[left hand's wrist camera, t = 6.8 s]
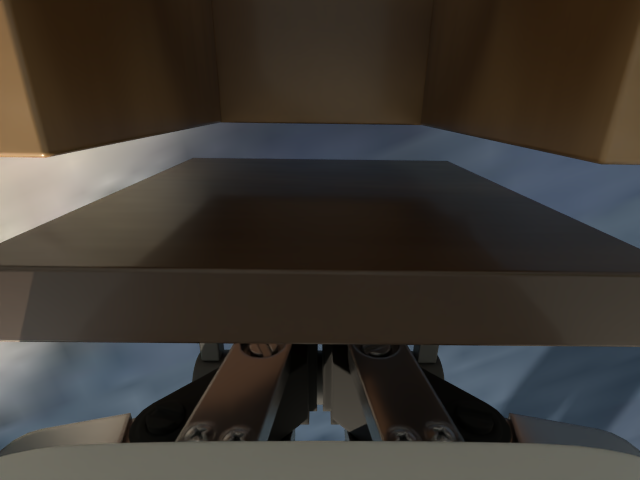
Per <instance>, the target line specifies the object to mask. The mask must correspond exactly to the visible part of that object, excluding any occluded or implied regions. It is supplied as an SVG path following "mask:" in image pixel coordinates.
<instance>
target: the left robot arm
mask: <svg viewBox="0 0 640 480" xmlns="http://www.w3.org/2000/svg"><path fill="white" fill-rule="evenodd" d="M322 353H323V411H331V424H340V425H341V426H342V427H343V428H345V441H295V428H297V427H298V426H299V425H300V424H309V411H317V356H318V344H244V343H234V344H233V346H232V347H231V349H230V351H229V352H228V354H227V356H226V357H225V359H224V361H223V362H222V364H221V366H220V367H219V368H217V369H215V370H213V371H212V372H210V373H208V374H206V375H204V376H202V377H201V378H199V379H197V380H195V381H193V382H191V383H190V384H188V385H186V386H184V387H182V388H180V389H179V390H177V391H175V392H173V393H171V394H169V395H168V396H166V397H164V398H162V399H160V400H158V401H157V402H155V403H153V404H151V405H150V406H148V407H147V408H146V409H144V410H143V411H142V412H141V413H140V414H139V415H138V416H137V417H136V418H133V419H132V417H131V413H128V414H122V415H116V416H111V417H105V418H100V419H94V420H89V421H83V422H77V423H72V424H66V425H61V426H55V427H49V428H44V429H40V430H36V431H33V432H29V433H27V434H25V435H23V436H21V437H19V438H17V439H15V440H14V441H12V442H11V443H10V444H8V445H7V446H6V447H4V448H3V449H2V450H1V451H0V480H640V451H639V450H638V449H637V448H636V447H634V446H633V445H632V444H630V443H629V442H628V441H626V440H625V439H623V438H621V437H619V436H617V435H615V434H613V433H611V432H607V431H604V430H600V429H596V428H591V427H585V426H579V425H574V424H568V423H563V422H557V421H551V420H546V419H540V418H535V417H529V416H524V415H518V414H512V413H509V417H508V419H507V418H504V417H503V416H502V415H501V414H500V413H499V412H498V411H497V410H496V409H495V408H493V407H492V406H490V405H489V404H487V403H485V402H483V401H482V400H480V399H478V398H476V397H474V396H472V395H471V394H469V393H467V392H465V391H463V390H461V389H460V388H458V387H456V386H454V385H452V384H450V383H449V382H447V381H445V380H443V379H441V378H440V377H438V376H436V375H434V374H432V373H430V372H429V371H427V370H425V369H423V368H421V367H420V366H419V364H418V362H417V361H416V359H415V357H414V356H413V354H412V352H411V351H410V349H409V347H408V346H407V345H366V344H322Z"/></svg>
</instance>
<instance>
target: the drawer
mask: <svg viewBox="0 0 640 480" xmlns="http://www.w3.org/2000/svg"><path fill="white" fill-rule="evenodd" d="M219 122H232V123H310V124H387V125H424V126H429V127H433V128H438V129H442V130H447V131H451V132H456V133H461V134H465V135H470V136H474V137H479V138H483V139H488V140H493V141H497V142H502V143H506V144H511V145H515V146H520V147H525V148H529V149H534V150H538V151H543V152H547V153H552V154H557V155H561V156H566V157H570V158H575V159H579V160H584V161H589V162H593V163H598V164H616V165H640V0H0V157H44V158H46V157H51V156H56V155H61V154H66V153H71V152H76V151H81V150H86V149H91V148H96V147H100V146H105V145H110V144H115V143H120V142H125V141H130V140H135V139H140V138H145V137H150V136H155V135H160V134H165V133H170V132H175V131H180V130H185V129H190V128H195V127H200V126H205V125H210V124H214V123H219ZM0 341H1V342H123V343H199V345H200V354H199V355H198V358H197V360H196V363H195V367H194V372H193V379H192V382H193V381H195V380H197V379H199V378H201V377H202V376H204V375H206V374H208V373H210V372H212V371H213V370H215V369H217V368H219V367H220V366H221V364H222V362H223V361H224V359H225V357H226V356H227V354H228V352H229V351H230V350H224V345H223V343H244V344H366V345H414V349H413V351H411V352H412V354H413V356H414V357H415V359H416V361H417V362H418V364H419V366H420V367H421V368H423V369H425V370H427V371H429V372H430V373H432V374H434V375H436V376H438V377H440V378H441V379H443V380H444V373H443V368H442V365H441V362H440V359H439V357H438V355H437V353H438V347H439V345H488V346H610V347H640V249H639V248H637V247H635V246H632V245H630V244H628V243H626V242H624V241H621V240H619V239H617V238H615V237H613V236H610V235H608V234H606V233H604V232H602V231H599V230H597V229H595V228H593V227H591V226H589V225H586V224H584V223H582V222H580V221H578V220H575V219H573V218H571V217H569V216H567V215H564V214H562V213H560V212H558V211H556V210H553V209H551V208H549V207H547V206H545V205H542V204H540V203H538V202H536V201H534V200H532V199H529V198H527V197H525V196H523V195H521V194H518V193H516V192H514V191H512V190H510V189H507V188H505V187H503V186H501V185H499V184H496V183H494V182H492V181H490V180H488V179H485V178H483V177H481V176H479V175H477V174H475V173H472V172H470V171H468V170H466V169H464V168H461V167H459V166H457V165H455V164H453V163H450V162H448V161H400V160H318V159H235V158H192V159H190V160H187V161H185V162H183V163H181V164H178V165H176V166H174V167H172V168H169V169H167V170H165V171H162V172H160V173H158V174H156V175H153V176H151V177H149V178H147V179H144V180H142V181H140V182H138V183H135V184H133V185H131V186H129V187H126V188H124V189H122V190H119V191H117V192H115V193H113V194H110V195H108V196H106V197H104V198H101V199H99V200H97V201H95V202H92V203H90V204H88V205H86V206H83V207H81V208H79V209H76V210H74V211H72V212H70V213H67V214H65V215H63V216H61V217H58V218H56V219H54V220H52V221H49V222H47V223H45V224H42V225H40V226H38V227H36V228H33V229H31V230H29V231H27V232H24V233H22V234H20V235H18V236H15V237H13V238H11V239H9V240H6V241H4V242H2V243H0ZM317 405H323V353H322V351H318V356H317Z"/></svg>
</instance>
